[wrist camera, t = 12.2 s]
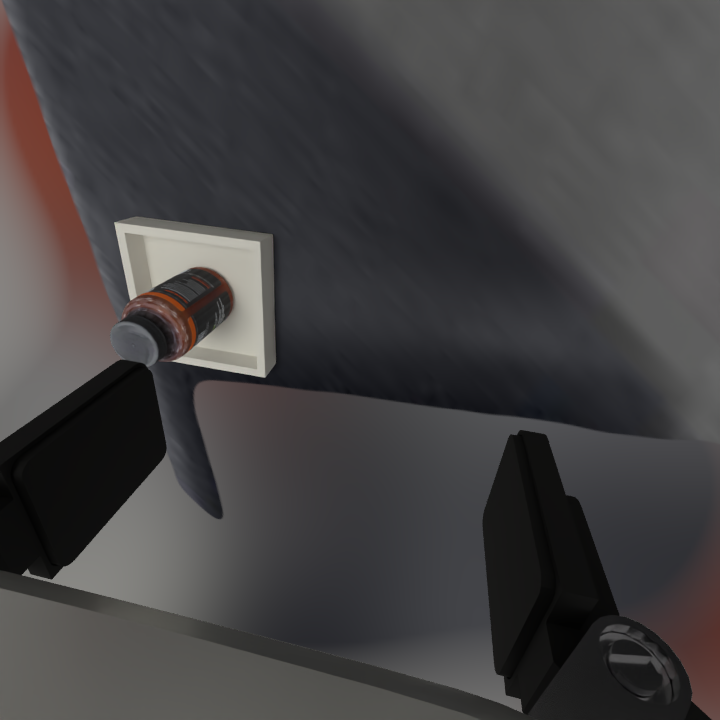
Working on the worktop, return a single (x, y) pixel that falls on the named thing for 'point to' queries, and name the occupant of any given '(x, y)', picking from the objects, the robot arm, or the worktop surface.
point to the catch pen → (228, 259)
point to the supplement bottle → (172, 317)
